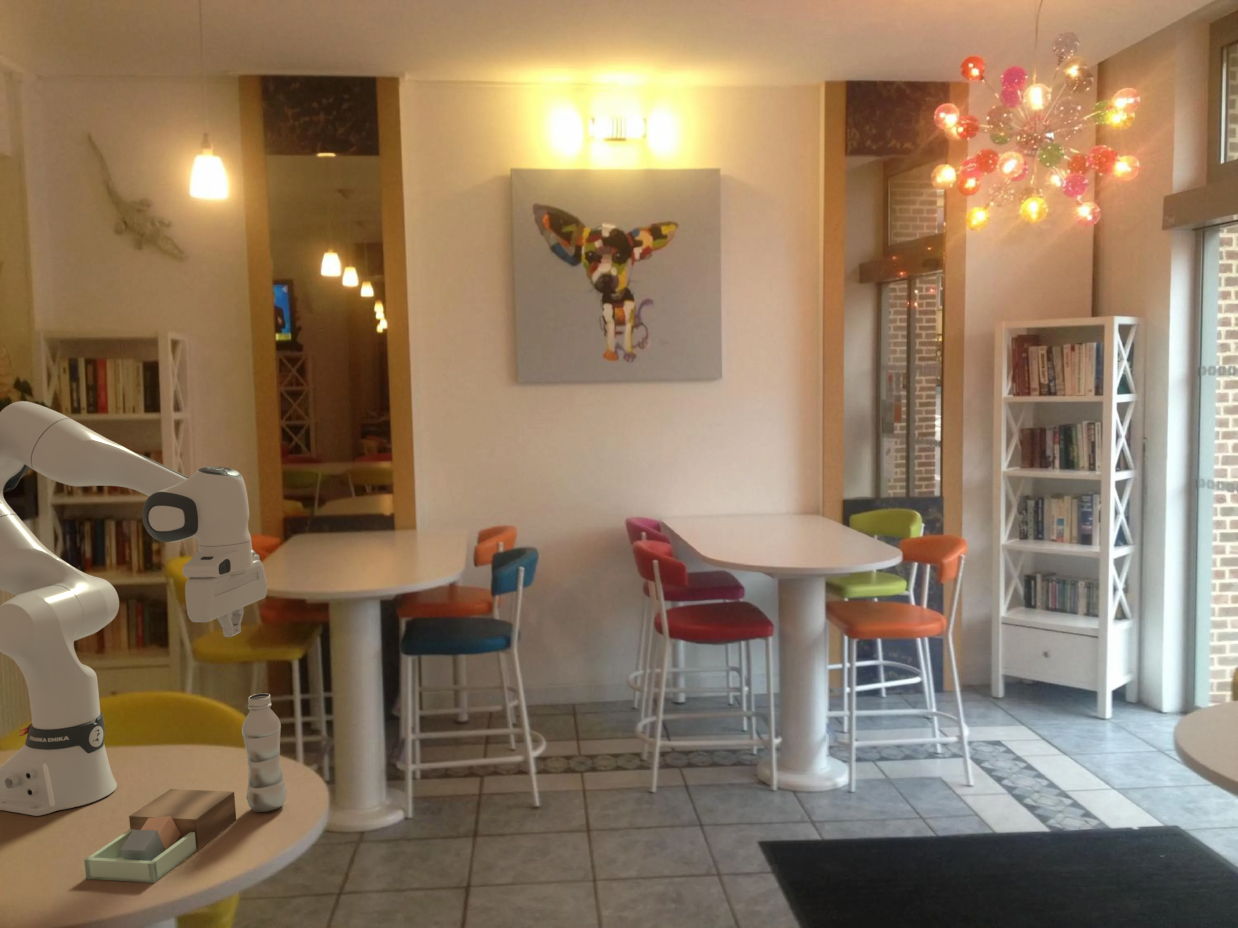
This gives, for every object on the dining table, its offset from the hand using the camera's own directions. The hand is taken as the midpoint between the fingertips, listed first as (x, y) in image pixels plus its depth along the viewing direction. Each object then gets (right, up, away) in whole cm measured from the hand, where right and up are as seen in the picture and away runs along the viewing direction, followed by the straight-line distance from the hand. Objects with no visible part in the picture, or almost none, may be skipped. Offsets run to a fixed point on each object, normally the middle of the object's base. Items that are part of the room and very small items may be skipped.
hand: (232, 635), depth 189 cm
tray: (-5, -32, -24) cm, 40 cm away
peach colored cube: (-4, -29, -23) cm, 37 cm away
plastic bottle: (+8, -30, -5) cm, 31 cm away
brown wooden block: (-3, -31, -13) cm, 33 cm away
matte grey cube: (-4, -28, -24) cm, 37 cm away
